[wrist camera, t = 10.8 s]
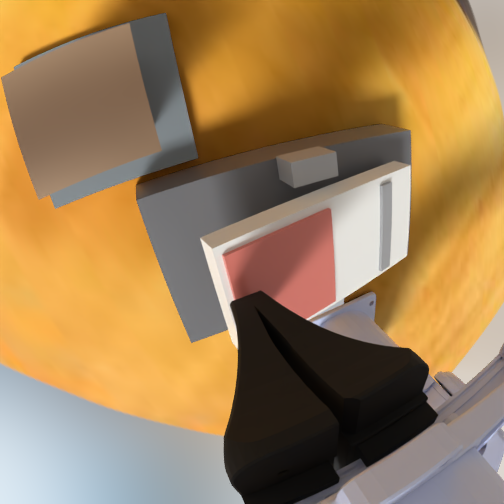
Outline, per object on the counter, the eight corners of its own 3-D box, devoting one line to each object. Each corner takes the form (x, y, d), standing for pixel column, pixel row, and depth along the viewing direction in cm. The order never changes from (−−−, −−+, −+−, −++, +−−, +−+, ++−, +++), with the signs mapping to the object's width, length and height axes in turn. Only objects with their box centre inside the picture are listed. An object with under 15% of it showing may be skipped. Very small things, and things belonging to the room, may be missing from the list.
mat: (196, 156, 16) (198, 158, 16) (57, 205, 15) (55, 208, 14) (164, 15, 12) (165, 12, 12) (17, 68, 11) (13, 67, 10)
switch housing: (383, 239, 24) (422, 265, 20) (183, 316, 21) (197, 362, 17) (381, 122, 19) (429, 133, 16) (135, 183, 16) (136, 209, 12)
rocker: (393, 249, 20) (409, 257, 19) (232, 342, 16) (246, 359, 15) (394, 160, 17) (413, 165, 16) (200, 237, 13) (214, 250, 12)
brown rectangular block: (150, 131, 15) (161, 150, 9) (76, 159, 14) (38, 199, 8) (131, 57, 12) (129, 23, 7) (54, 86, 12) (0, 77, 6)
